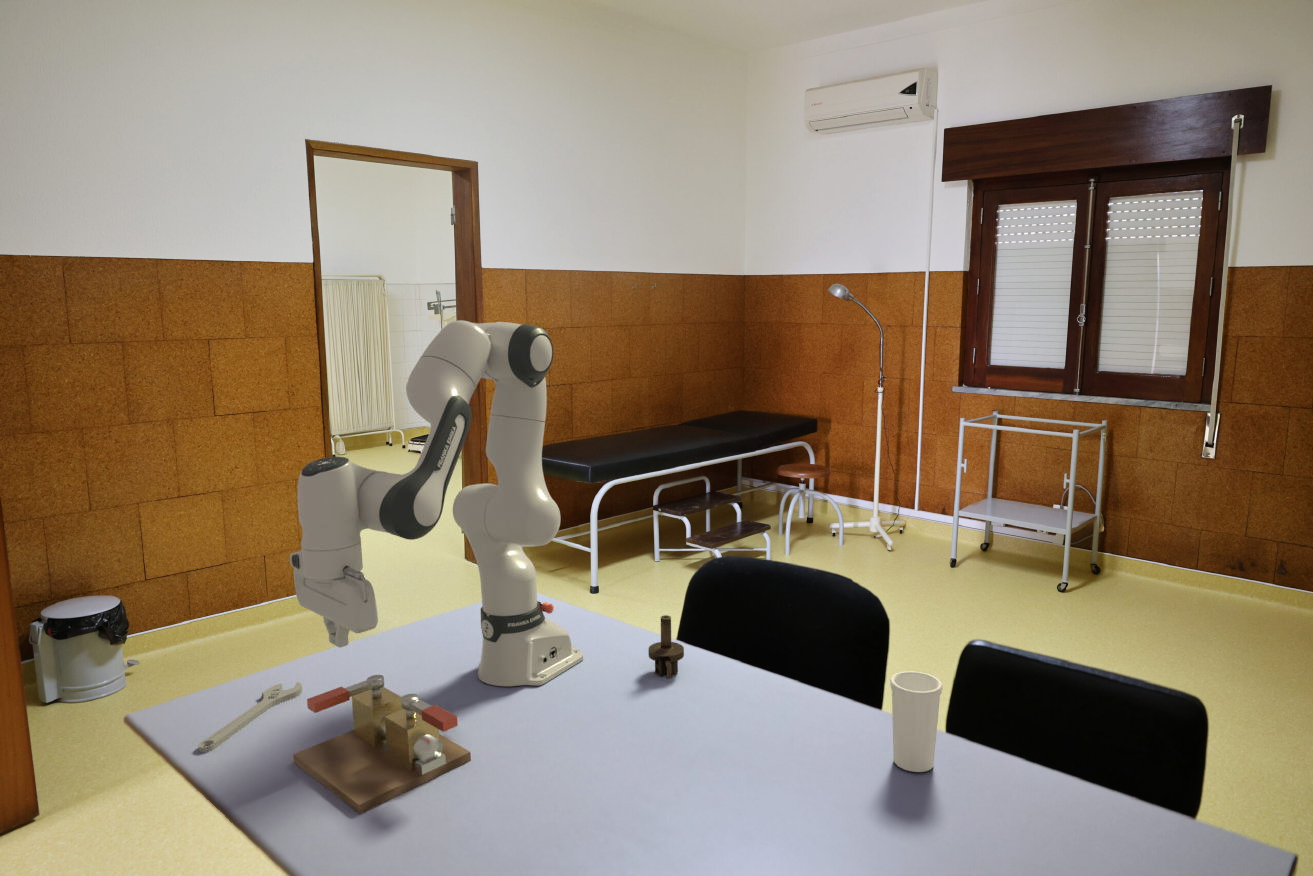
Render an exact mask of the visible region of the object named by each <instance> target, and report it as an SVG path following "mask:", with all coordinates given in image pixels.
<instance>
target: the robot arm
mask: <svg viewBox="0 0 1313 876" xmlns="http://www.w3.org/2000/svg"><path fill="white" fill-rule="evenodd" d="M553 359H554V346H553V343H552V340H551V338H550V336H549V334H548V332H547V331H546V330H545V329H543V328H542V327H539V326H537V325H534V324H530V323H529V324H528V323H523V324H520V323H515V322H507V321H496V322H483V323H477V322H470V321H467V320H463V319H462V320H461V319H459V320H454V321H451V322H449V323H448V324H446V325H445V327H443V329H441V330H440V331H439V332H438V333H437V335H436V336H435V337H434V338H433V339H432V341H430V343H429V344H428V345H427V347H426V349H424V351H423V352H422V354H421V355H420V357H419V359H418V360H417V362H416V364H415V365H414V367H413V368H412V370H411V372H410V374H409V377H408V378H407V383H406V386H405V390H406V391H405V392H406V396H407V399H408V403H409V404H410V406H411V407H412V409H413V410H414V411H415V412H416V413H417V414H418V415H419V416H420V417H422V419H424V420H425V421H426V422H427V423H429V424H430V428H429V429H430V430H429V434H428V436H427V438H426V441H425V443H424V444H423V448H422V449H421V450H422V451H421V452H420V455H419V457H418V460H417V461H416V462H417V463H416V465H415V466H414V468H412V469H411V470H409V471H408V472H406V473H403V474H400V473H393V472H389V471H388V472H387V471H384V470H383V471H382V470H375V469H371V468H367V467H363V466H360V465H358V464H356V463H354V462H352V460H350V459H349V458H347V457H345V456H330V457H325V458H324V457H323V458H319V459H315V460H313V461H311V462H308V463H307V464H306V465H305V466H304V467H303V468H302V469H301V471H300V473H299V476H298V481H297V511H298V512H297V513H298V521H299V524H300V526H301V529H302V538H301V542H300V547H301V548H300V549H301V550H300V551H296V552H295V551H294V552H292V553H290V554H289V562H290V566H291V567H292V568H294V569H293V581H294V588H295V590H294V591H295V595H296V598H297V599H296V600H297V602H298V603H299V605H300V606H301V607H303V608H305V609H306V610H308V611H311V612H313V613H314V614H317V615H318V616H321V617H323V618H322V619H323V623H324V626H325V628H326V630H327V633H328V641H329V643H330V644H332V645H334V646H336V647H338V648H343V647H346V646H347V647H348V645H349V633H350V631H351V632H352V633H355V634H361V633H365V632H368V631H371V630H374V629H376V627H377V625H378V623H379V616H378V615H379V614H378V608H377V600H376V597H375V596H376V595H375V591H374V590H375V589H374V587H373V585H372V583H371V582H370V580H368V579H366V578H365V574H364V573H363V572H362V570H363V567H364V565H363V553H362V551H363V549H362V539H361V532H362V531H363V530H368V529H369V530H372V531H375V532H382V533H386V534H390V535H394V536H396V537H399V538H402V539H405V540H408V541H409V540H411V541H412V540H418V539H421V538H423V537H425V536H426V535H427V534H429V533H430V532H431V531H432V530H434V528H435V527H436V526H437V524H438V522H439V521H440V519H441V516H442V513H443V509H444V504H445V499H446V498H445V497H446V494H447V491H448V487H449V483H450V481H451V479H452V476H453V473H454V471H455V468H456V466H457V463H458V462H459V461H458V460H459V458H460V455H461V452H462V449H463V447H464V444H465V442H466V438H467V435H468V433H469V430H470V427H471V424H472V423H471V422H472V409H471V407H470V401H471V398H472V396H473V394H474V392H475V390H476V389H477V386H478V384H479V383H480V381H481V379H487V380H493V382H494V386H495V388H494V389H495V390H494V392H493V397H492V402H491V407H490V413H489V414H490V415H489V422H488V428H487V435H486V436H487V438H486V445H485V454H486V457H487V459H488V461H490V463H491V464H492V466H493V467H494V469H495V473H496V477H497V482H498V483H497V484H494V483H476V484H469V485H467V486H465V487H463V488H461V490H460V491H459V492H458V493H457V494H456V496H455V498H454V500H453V504H452V516H453V520H454V522H455V523H456V524H457V526H459V528H460V529H461V530H462V532H463V533H464V535H465V536H466V538H467V540H468V543H469V544H470V545H469V546H470V547H471V550H472V553H473V555H474V558H475V560H476V564H477V567H478V572H479V573H478V574H479V580H480V590H481V592H480V593H481V604H482V605H481V608H480V630H481V634H482V649H481V656H480V662H479V667H478V671H477V677H478V678H479V680H480V681H481V682H483V683H484V684H485V683H486V684H488V685H492V686H498V687H517V686H542V685H545V684H546V683H548V682H550V681H551V680H552V679H554V678H556V677H557V676H559V675H562V673H564V672H565V671H567V670H568V669H570V668H572V667H574V666H575V665H577V664H578V663H580V662H582V661H583V660H584V655H583V652H581V650H580V649H578V648H576V647H575V646H573V645H572V640H571V637H570V634H569V632H568V631H567V630H566V629H565V628H564V627H562V626H561V625H559V624H557V623H556V622H554V621H552V620H550V619H548V618H547V617H545V615H544V612H545V613H546V614H549V615H550V614H552V613H553V612H554V609H555V607H554V605H553V604H552V603H549V602H543V603H542V602H541V601H539V600H538V594H537V574H536V573H537V572H536V568H535V565H534V563H533V562H532V560H530V558H529V557H528V556H527V555H526V552H524V550H523V547H524V548H525V547H526V548H527V547H529V548H530V547H543V546H546V545H548V544H549V543H551V542H552V541H553V540H554V538H556V535H557V533H558V532H559V530H560V527H561V511H560V508H559V506H558V504H557V502H556V501H555V500H554V499H553V498H552V496H551V494H550V492H549V490H548V487H547V484H546V480H545V477H544V476H545V475H544V471H543V470H544V469H543V457H542V456H543V445H544V435H545V428H546V427H545V426H546V419H547V418H546V417H547V404H548V403H547V400H548V398H547V396H548V395H547V393H548V392H547V379H546V376H547V374H548V372H549V371H550V369H551V366H552V363H553Z"/></svg>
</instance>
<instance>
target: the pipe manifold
mask: <svg viewBox="0 0 1313 876" xmlns="http://www.w3.org/2000/svg"><path fill="white" fill-rule="evenodd" d="M419 697H420V696H419V695H418V694H417V693H407V694H404V695H403V696H400V695H398V694H397V693H395V692H394V691H392V690H390V689H388V688H386V687H384V686H383V687H382V688H380V689H375V690H371V689H370V690H368V691H365V692H362V693H360V694H357V695H354V696H352V697H351V705H352V707H351V708H352V719H353V721H352V726H353V728H352V730H354V733H355V735H357V736H358V737H360V738H362V739H363V740H365V741H366V742H368V743H369V744H371V745H372V746H374V747H378V746H380V745H382V744H383V749H384V750H385V751H387V755H388V756H389V757H390V758H392V759H393V760H395V761H396V762H398V763H399V764H401V765H402V766H404V767H405V768H407V769H408V770H410V771H411V770H413V769H415V770H416V771H417V772H419V773H420V774H422V775H423V774H425V773H427V772H429V771H431V770H434V769H436V768H438V767H440V766H442V765H444V764H446V758H445V755H444V754H443V753H442V750H443V744H442V742H441V741H440V740H439V734H440V732H442V733H444V732H447V731H450V730H451V729H453V728H456V727H458V726H459V725H458V724H459V723H458V716H457V715H456V714H454V713H452V712H450V711H448V710H447V709H445V708H443V707H442V706H440V705H437V704H433V705H431V704H429V703H428V702H426V701H424V700H421V699H420V698H419ZM439 731H440V732H439Z"/></svg>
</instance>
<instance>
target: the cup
mask: <svg viewBox="0 0 1313 876" xmlns="http://www.w3.org/2000/svg"><path fill="white" fill-rule="evenodd" d="M889 682H890V688H891V705H892V709H891V710H892V745H893V747H892V749H893V750H892V751H893V752H892V753H893V761H894V764H895V765H896V766H897V767H899V768H901V769H903V770H904V771H908V772H915V773H924V772H928V771H930V770H931V769H932V768H933V767H934V764H935V755H936V745H937V744H936V743H937V735H938V733H937V731H938V721H939V711H940V710H939V709H940V701H941V695H942V692H943V688H944V687H943V684H942V681H941V680H939V678H937V677H936V676H934V675H932V674H929V673H926V672H920V671H910V670H909V671H908V670H907V671H900V672H897V673H894V674H892V676H891V678H890V679H889Z"/></svg>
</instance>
